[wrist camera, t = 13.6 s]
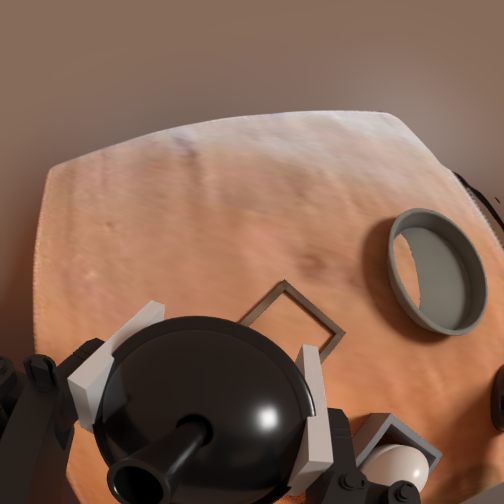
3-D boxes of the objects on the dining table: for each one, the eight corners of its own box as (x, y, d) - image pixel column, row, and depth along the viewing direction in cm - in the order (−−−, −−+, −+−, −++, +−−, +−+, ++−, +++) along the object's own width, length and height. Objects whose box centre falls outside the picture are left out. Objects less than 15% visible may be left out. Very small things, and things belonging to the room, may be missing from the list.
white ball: (376, 431, 27) (415, 435, 19) (413, 458, 24) (453, 463, 17) (333, 483, 23) (363, 503, 16) (374, 506, 21) (409, 524, 13)
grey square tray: (371, 412, 30) (390, 413, 25) (423, 451, 26) (443, 453, 21) (309, 484, 24) (321, 496, 20) (369, 518, 20) (386, 528, 16)
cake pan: (418, 204, 50) (429, 191, 46) (486, 289, 41) (499, 280, 37) (349, 258, 42) (361, 243, 38) (436, 372, 33) (454, 367, 29)
